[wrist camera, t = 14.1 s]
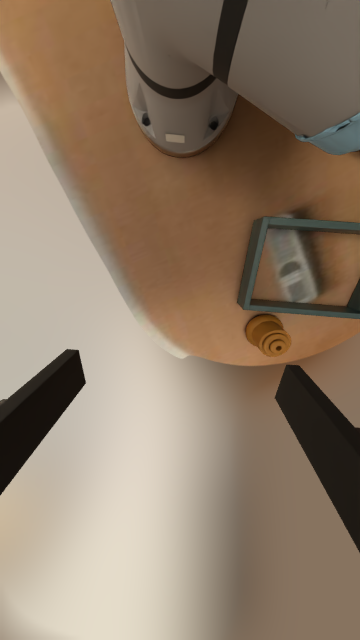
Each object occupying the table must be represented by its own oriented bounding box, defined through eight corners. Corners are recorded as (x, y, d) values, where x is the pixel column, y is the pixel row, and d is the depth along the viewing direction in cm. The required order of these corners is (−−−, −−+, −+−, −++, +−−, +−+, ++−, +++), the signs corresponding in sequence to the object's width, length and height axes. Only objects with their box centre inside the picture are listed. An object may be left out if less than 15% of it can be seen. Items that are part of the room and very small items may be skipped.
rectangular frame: (253, 220, 30) (263, 216, 26) (388, 229, 30) (420, 226, 26) (237, 302, 36) (242, 309, 32) (349, 311, 36) (370, 320, 32)
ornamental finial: (285, 331, 38) (255, 349, 40) (269, 306, 36) (237, 326, 38) (308, 351, 31) (269, 372, 33) (289, 321, 29) (249, 344, 31)
